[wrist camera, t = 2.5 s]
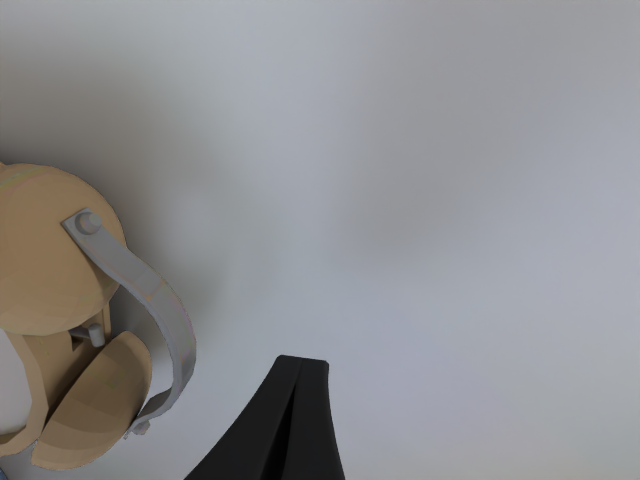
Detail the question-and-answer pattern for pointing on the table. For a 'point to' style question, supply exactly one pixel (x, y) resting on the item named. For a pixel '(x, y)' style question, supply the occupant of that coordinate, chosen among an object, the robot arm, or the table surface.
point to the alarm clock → (75, 322)
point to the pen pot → (2, 476)
